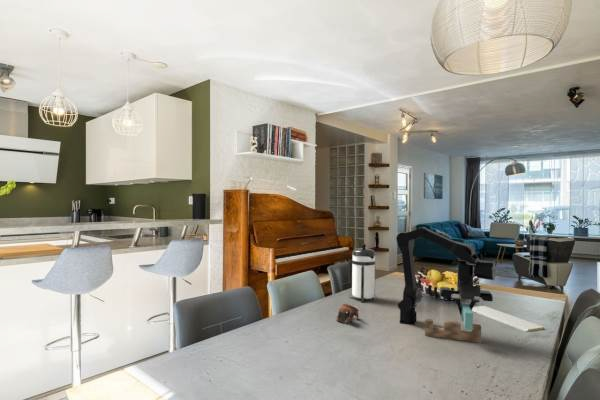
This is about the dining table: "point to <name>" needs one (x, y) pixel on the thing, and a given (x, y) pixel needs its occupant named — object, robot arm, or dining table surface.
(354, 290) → the coffee press
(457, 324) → the walnut slotted board
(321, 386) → the dining table surface
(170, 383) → the dining table surface
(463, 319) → the teal notched plate
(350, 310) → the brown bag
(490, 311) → the baseboard molding
